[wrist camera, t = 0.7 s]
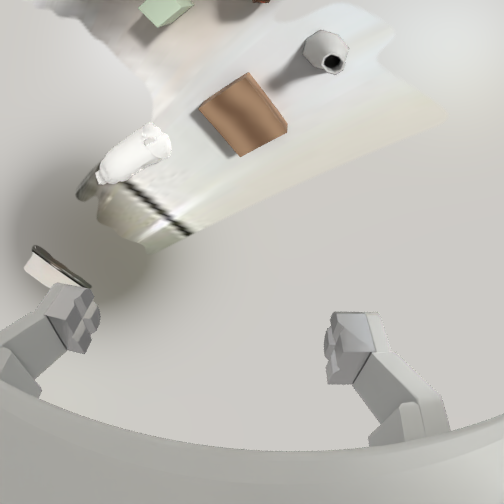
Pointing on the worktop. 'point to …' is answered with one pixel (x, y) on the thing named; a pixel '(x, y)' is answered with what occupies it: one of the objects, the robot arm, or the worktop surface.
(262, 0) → the tin
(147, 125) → the white plastic bottle
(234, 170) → the worktop surface
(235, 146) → the brown block
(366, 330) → the robot arm
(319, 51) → the flask
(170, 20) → the sage block
